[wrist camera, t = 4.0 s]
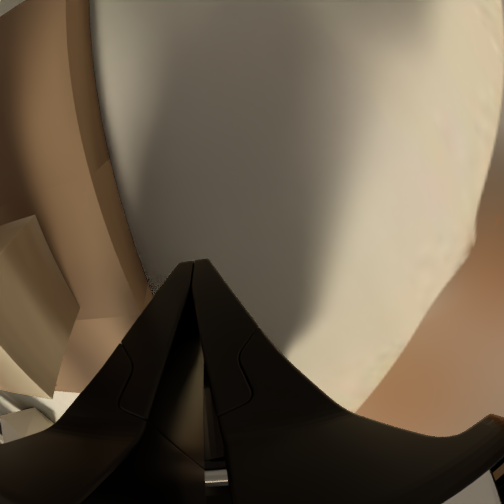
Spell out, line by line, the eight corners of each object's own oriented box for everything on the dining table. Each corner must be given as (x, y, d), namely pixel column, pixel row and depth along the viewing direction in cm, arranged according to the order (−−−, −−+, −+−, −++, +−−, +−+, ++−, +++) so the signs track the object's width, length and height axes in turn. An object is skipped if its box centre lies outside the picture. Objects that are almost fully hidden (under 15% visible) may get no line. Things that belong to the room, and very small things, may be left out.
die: (-4, 385, 18) (-6, 449, 15) (15, 418, 15) (17, 491, 11) (49, 398, 25) (44, 456, 21) (80, 427, 21) (76, 491, 18)
